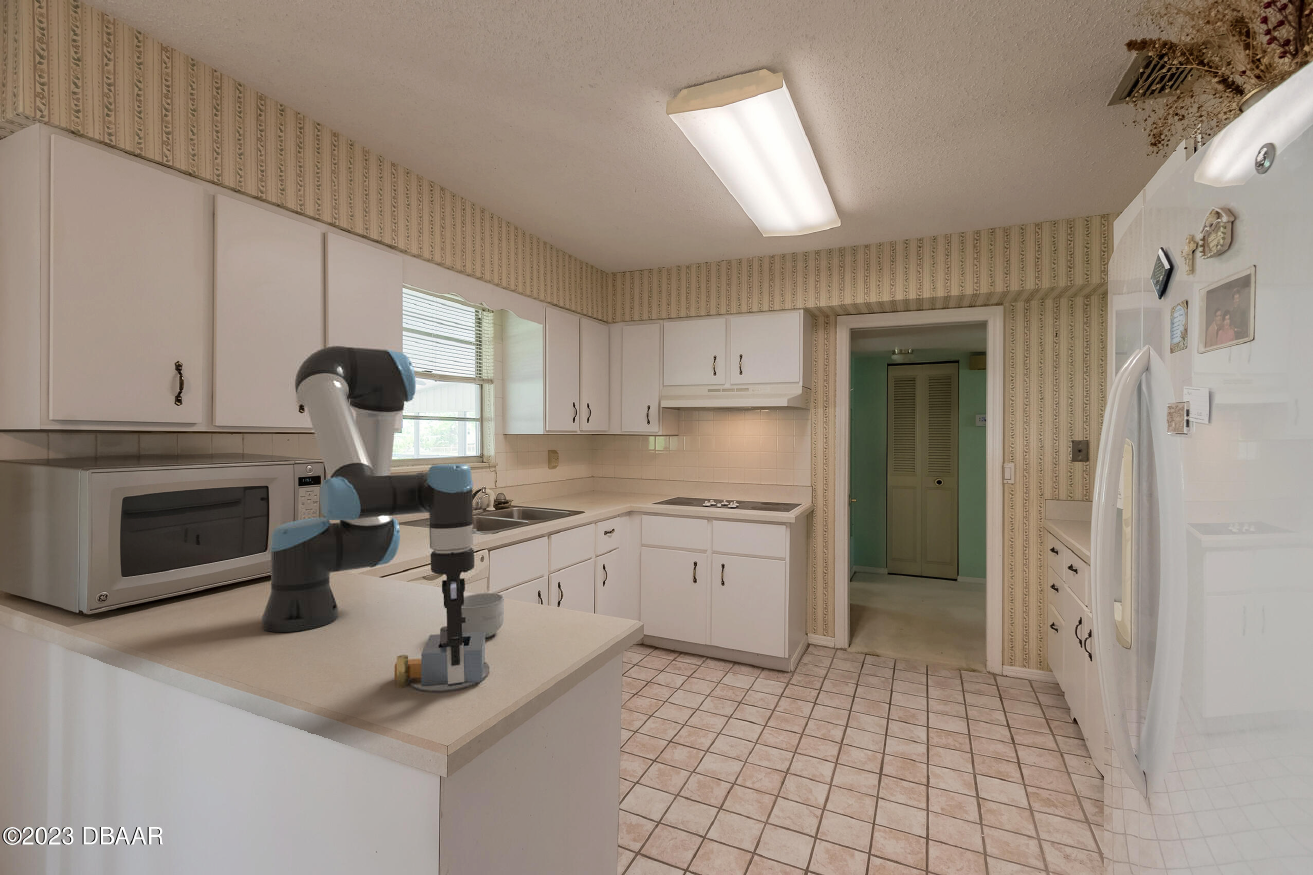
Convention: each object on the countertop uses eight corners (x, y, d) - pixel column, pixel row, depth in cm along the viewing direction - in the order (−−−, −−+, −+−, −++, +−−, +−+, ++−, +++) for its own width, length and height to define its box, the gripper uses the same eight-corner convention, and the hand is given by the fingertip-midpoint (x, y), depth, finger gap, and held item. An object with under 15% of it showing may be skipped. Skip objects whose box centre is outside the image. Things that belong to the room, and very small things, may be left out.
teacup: (489, 645, 123) (489, 607, 123) (442, 641, 125) (442, 603, 125) (518, 624, 137) (518, 589, 137) (475, 620, 139) (475, 586, 139)
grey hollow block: (484, 659, 114) (485, 631, 114) (481, 680, 104) (481, 649, 104) (401, 666, 111) (401, 636, 111) (389, 688, 101) (390, 656, 101)
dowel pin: (394, 686, 103) (394, 657, 103) (403, 682, 105) (403, 654, 105) (401, 688, 103) (401, 659, 103) (410, 684, 104) (410, 655, 104)
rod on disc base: (390, 682, 105) (390, 634, 105) (449, 655, 118) (449, 612, 117) (449, 698, 99) (449, 647, 99) (505, 668, 111) (505, 622, 111)
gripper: (476, 558, 98) (480, 692, 98) (472, 537, 120) (475, 646, 120) (427, 563, 96) (431, 699, 96) (432, 540, 118) (435, 651, 118)
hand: (456, 670), depth 108 cm, fingers closed on grey hollow block, 10 cm apart
